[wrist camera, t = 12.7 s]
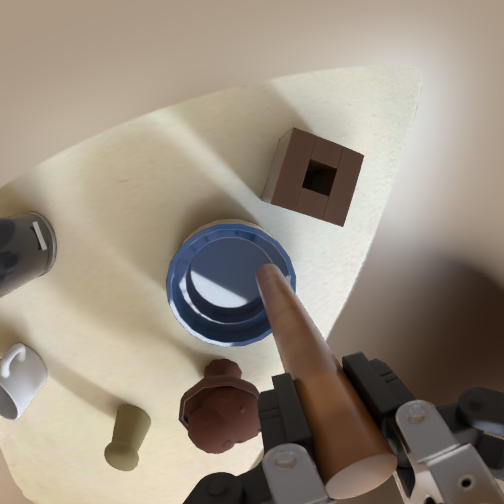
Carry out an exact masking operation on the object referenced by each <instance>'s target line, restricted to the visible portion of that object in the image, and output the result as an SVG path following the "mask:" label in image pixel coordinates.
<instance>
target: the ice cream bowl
mask: <svg viewBox="0 0 504 504" xmlns="http://www.w3.org/2000/svg"><path fill="white" fill-rule="evenodd" d="M241 374H242V372H241V370H240V368H239V367H238V365H237V363H234V362H232V361H230V360H227V359H221V360H214V361H212V362H211V363H210V364H209V365H208V366H206V368H205V374H204V377H205V378H203V379H202V380H201V381H199V382H198V383H197V384H196V385H194V386H193V387H192V388H190V389H189V390H188V391H187V392H185V393H184V395H183V397H182V398H181V403H180V412H179V421H180V422H181V423H182V424H183V426H184V427H185V428H186V429H187V430H188V436H189V438H190V439H191V441H192V442H193V443H194V444H195V446H196V447H197V448H199V449H201V450H203V451H205V452H206V453H214V454H216V453H217V454H219V453H223V452H225V451H227V450H229V449H231V448H232V447H233V446H234V444H235V443H243V442H245V441H247V440H249V439H251V438H253V437H255V436H257V435H258V433H259V432H261V427H260V420H259V414H258V407H257V400H258V397H259V395H260V393H259V392H258V390H257V388H256V387H255V386H254V385H253V384H252V383H250V382H247V381H244V380H242V379H240V378H241Z"/></svg>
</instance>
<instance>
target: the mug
mask: <svg viewBox="0 0 504 504" xmlns="http://www.w3.org/2000/svg"><path fill="white" fill-rule="evenodd" d="M46 381H47V370H46V367H45V365H44V363H43V361H42V360H41V358H40V357H39V356H38V355H37V354H36V353H35V352H34V351H33V350H32V349H31V348H29V347H27V346H24V345H23V344H21V343H17V344H14V345H13V346H12V347H10V348H9V349H8V350H7V352H6V353H5V354H4V356H3V357H2V358H1V359H0V415H1V416H2V417H4V418H6V419H9V420H16V419H18V418H19V417H20V415H21V414H22V413H23V411H24V410H25V409H26V407H27V406H28V405H29V403H30V402H31V401H32V399H33V398H34V397H35V395H36V394H37V393H38V392H39V390H40V389H41V388H42V387H43V386H44V384H45V383H46Z"/></svg>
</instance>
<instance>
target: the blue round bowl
mask: <svg viewBox="0 0 504 504" xmlns="http://www.w3.org/2000/svg"><path fill="white" fill-rule="evenodd" d="M264 264H274V265H276V266H277V267H278V268H279V269H280V270H281V272H282V273H283V275H284V277H285V278H286V280H287V281H288V283H289V284H290V286H291V288H292V289H293V291H294V292H295V294H296V275H295V272H294V269H293V266H292V263H291V260H290V257H289V256H288V254H287V253H286V252H285V250H284V249H283V248H282V246H281V245H280V244H279V242H278V241H277V240H276V239H275V238H274V237H273V236H272V235H271V234H270V233H268V232H267V231H265V230H264V229H262V228H261V227H259V226H258V225H257V224H254V223H251V222H247V221H244V220H240V219H219V220H216V221H213V222H210V223H208V224H205V225H202V226H201V227H199V228H198V229H197V230H196V231H194V232H193V233H192V234H191V235H189V236H188V237H187V238H186V239H185V241H184V242H183V243H182V245H181V246H180V248H179V249H178V251H177V253H176V254H175V256H174V257H173V259H172V260H171V263H170V266H169V270H168V274H167V279H166V288H167V297H168V302H169V305H170V307H171V309H172V311H173V313H174V315H175V318H176V319H177V320H178V321H179V322H180V324H181V325H182V326H183V327H184V328H185V329H186V330H187V331H188V332H189V333H190V334H192V335H194V336H195V337H197V338H199V339H201V340H202V341H204V342H206V343H210V344H215V345H219V346H223V347H232V346H245V345H248V344H251V343H254V342H257V341H260V340H262V339H264V338H265V337H266V336H268V335H269V334H271V333H272V329H271V326H270V323H269V320H268V317H267V314H266V310H265V307H264V304H263V301H262V298H261V295H260V291H259V288H258V285H257V282H256V272H257V270H258V269H259V268H260V267H261V266H262V265H264Z"/></svg>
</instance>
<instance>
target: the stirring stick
mask: <svg viewBox="0 0 504 504" xmlns="http://www.w3.org/2000/svg"><path fill="white" fill-rule="evenodd" d="M256 282H257V285H258V288H259V291H260V295H261V298H262V301H263V304H264V307H265V310H266V314H267V317H268V320H269V323H270V326H271V329H272V333H273V336H274V339H275V342H276V345H277V348H278V352H279V355H280V358H281V361H282V364H283V367H284V370H285V373H288V372H290V374H291V377H292V380H293V383H294V386H295V389H296V392H297V394H298V397H299V400H300V403H301V406H302V409H303V412H304V415H305V418H306V420H307V423H308V426H309V429H310V432H311V435H312V440H313V446H314V453H313V461H314V464H315V467H316V470H317V472H318V474H319V476H320V479H321V481H322V483H323V485H324V487H325V489H326V491H327V493H328V495H329V496H330V497H331V498H336V499H343V498H350V497H355V496H358V495H361V494H364V493H366V492H368V491H370V490H372V489H374V488H376V487H377V486H379V485H380V484H382V483H383V482H384V481H386V480H387V479H388V478H389V477H390V476H391V475H392V474H393V472H394V471H395V469H396V467H397V463H398V460H397V457H396V455H395V453H394V452H393V450H392V448H391V447H390V445H389V443H388V442H387V440H386V438H385V437H384V435H383V434H382V432H381V430H380V429H379V427H378V425H377V424H376V422H375V420H374V419H373V417H372V415H371V414H370V412H369V411H368V409H367V407H366V406H365V404H364V402H363V401H362V399H361V398H360V396H359V394H358V393H357V391H356V389H355V388H354V386H353V385H352V383H351V381H350V380H349V378H348V377H347V375H346V373H345V372H344V370H343V368H342V367H341V365H340V364H339V362H338V360H337V359H336V357H335V356H334V354H333V352H332V351H331V349H330V348H329V346H328V344H327V343H326V341H325V340H324V338H323V336H322V335H321V333H320V332H319V330H318V329H317V327H316V325H315V324H314V322H313V321H312V319H311V317H310V316H309V314H308V313H307V311H306V310H305V308H304V306H303V305H302V303H301V302H300V300H299V299H298V297H297V295H296V294H295V292H294V291H293V289H292V288H291V286H290V284H289V283H288V281H287V280H286V278H285V277H284V275H283V273H282V272H281V270H280V269H279V268H278V267H277V266H276V265H274V264H264V265H262V266H261V267H260V268H259V269H258V270H257V272H256Z"/></svg>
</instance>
